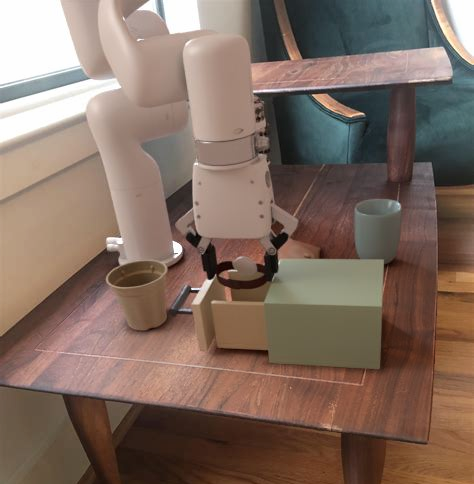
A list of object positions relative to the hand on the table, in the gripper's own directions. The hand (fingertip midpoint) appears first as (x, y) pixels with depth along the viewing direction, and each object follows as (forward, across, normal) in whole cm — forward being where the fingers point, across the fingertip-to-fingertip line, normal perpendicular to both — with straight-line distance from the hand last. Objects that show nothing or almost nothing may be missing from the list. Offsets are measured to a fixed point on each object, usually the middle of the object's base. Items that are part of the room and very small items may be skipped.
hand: (241, 275), depth 76 cm
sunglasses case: (+10, -5, -20) cm, 23 cm away
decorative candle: (+11, +9, -46) cm, 48 cm away
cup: (+10, -18, -25) cm, 32 cm away
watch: (+1, 0, 0) cm, 1 cm away
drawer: (+9, +1, 0) cm, 9 cm away
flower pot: (+10, +17, -3) cm, 20 cm away
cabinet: (+10, -12, 0) cm, 15 cm away
